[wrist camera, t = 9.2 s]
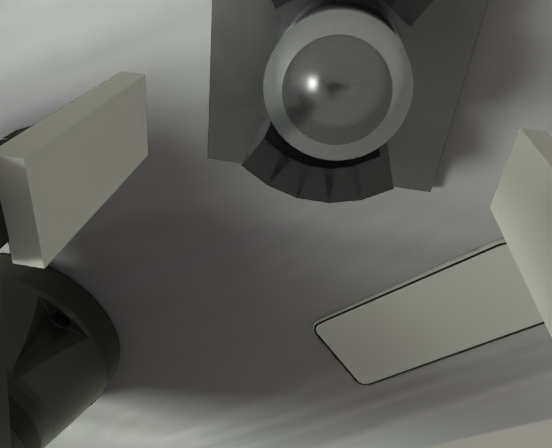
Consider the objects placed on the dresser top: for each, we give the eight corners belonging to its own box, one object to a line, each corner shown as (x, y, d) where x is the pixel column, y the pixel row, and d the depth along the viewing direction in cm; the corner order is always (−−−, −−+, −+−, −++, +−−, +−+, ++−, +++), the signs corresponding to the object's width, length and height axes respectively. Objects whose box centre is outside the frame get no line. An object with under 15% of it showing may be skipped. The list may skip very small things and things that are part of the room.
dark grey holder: (428, 185, 29) (443, 239, 24) (211, 152, 30) (181, 197, 25) (505, -74, 22) (548, -74, 17) (219, -107, 23) (181, -116, 18)
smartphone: (306, 326, 35) (513, 235, 29) (307, 319, 36) (511, 229, 30) (361, 389, 38) (562, 318, 32) (361, 382, 39) (559, 311, 32)
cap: (276, 107, 27) (256, 151, 21) (288, -15, 24) (269, 2, 18) (386, 122, 26) (394, 171, 21) (414, 1, 23) (431, 23, 18)
